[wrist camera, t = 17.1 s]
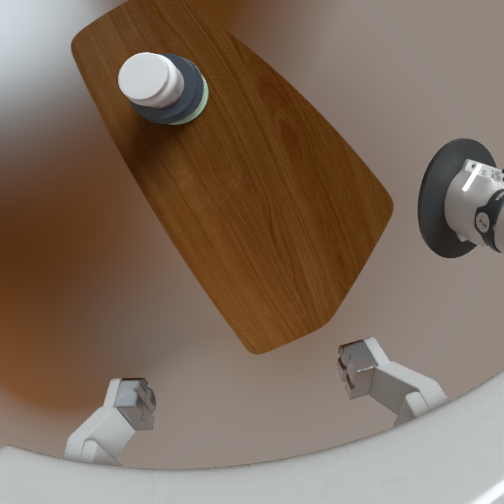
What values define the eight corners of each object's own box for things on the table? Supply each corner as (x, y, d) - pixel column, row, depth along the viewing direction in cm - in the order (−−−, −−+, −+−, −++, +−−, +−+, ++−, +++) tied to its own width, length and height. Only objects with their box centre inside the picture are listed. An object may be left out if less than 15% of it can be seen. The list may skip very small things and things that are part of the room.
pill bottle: (140, 110, 26) (112, 108, 19) (140, 68, 24) (113, 52, 17) (185, 106, 27) (171, 101, 19) (185, 63, 25) (172, 43, 17)
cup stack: (203, 61, 35) (197, 39, 24) (213, 117, 38) (209, 115, 28) (143, 75, 34) (116, 60, 24) (153, 130, 38) (128, 135, 27)
